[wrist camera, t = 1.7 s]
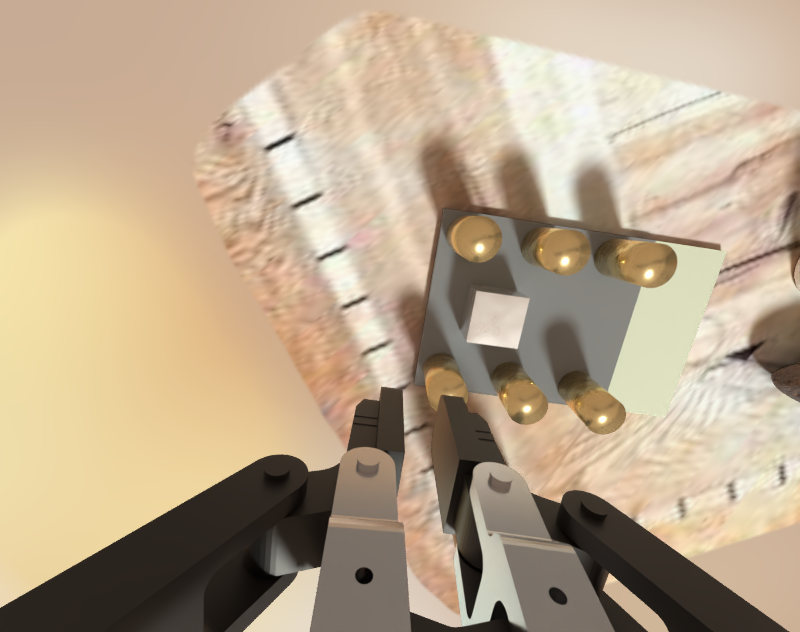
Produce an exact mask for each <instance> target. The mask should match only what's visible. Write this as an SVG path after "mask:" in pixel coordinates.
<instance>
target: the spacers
mask: <svg viewBox="0 0 800 632" xmlns="http://www.w3.org/2000/svg"><path fill="white" fill-rule="evenodd" d="M446 238H447V243H448V245H449V247H450V248H451V249H452V250H453V251H454V252H456V253H457V254H459V255H460V256H462V257H463V258H465V259H467V260H469V261H471V262H475V263H481V262H485V261H488V260H490V259H491V258H493V257H494V256H495V255H496V254H497V252H498V251H499V249H500V247H501V244H502V232H501V229H500V227H499V226H498V224H497V223H496V222H495V221H494V220H492V219H491V218H488V217H485V216H461V217H459V218H457V219H455V220H454V221H453V222H452V223H451V224H450V226H449V227H448V230H447V235H446ZM521 253H522V256H523V258H524V259H525V260H526V261H527V262H528V263H529V264H532V265H534V266H537V267H540V268H542V269H545V270H548V271H551V272H553V273H556V274H559V275H564V276H566V275H572V274H575V273H577V272H579V271H580V270H581V269H582V268H584V266H585V265H586V264H587V262H588V260H589V258H590V254H591V246H590V243H589V240H588V239H587V237H586V236H585V235H584V234H583V233H581V232H579V231H576V230H568V229H556V228H544V227H539V228H535V229H533V230H531V231H530V232H528V233H527V234H526V236H525V237H524V239H523V241H522V244H521ZM594 265H595V267H596V269H597V271H598V272H599V273H601V274H602V275H605V276H608V277H611V278H615V279H618V280H622V281H625V282H628V283H632V284H635V285H639V286H642V287H646V288H656V287H659V286H662V285H664V284H665V283H667V282H668V281H669V280H670V279H671V278H672V276H673V275H674V273H675V271H676V268H677V255H676V253H675V251H674V250H673V249H672V248H671V247H670V246H668V245H666V244H662V243H652V242H643V241H634V240H625V239H610V240H607V241H605V242H604V243H603V244H601V245H600V246H599V248H598V249H597V251H596V253H595V256H594ZM423 373H424V379H425V385H426V391H427V397H428V402H429V404H430V406H431V407H432V409H433V410H435V411H436V412H437V409H438V404H439V399H440V396H441V395H449V396H457V397H463V398H464V401H465V403H466V404H467V402H468V397H469V394H468V389H467V387H466V384H465V382H464V380H463V377H462V375H461V372H460V370H459V367H458V365H457V362H456V361H455V359H454V358H453V357H452V356H450V355H449V354H446V353H436V354H433V355H431V356H430V357H429V358H428V359H427V360H426V361H425V363H424V366H423ZM491 383H492V386H493V387H494V389H495V391H496V393H497V394H498V396H499V398H500V400H501V402H502V403H503V405H504V407H505V409H506V410H507V412H508V414H509V416H510V417H511V419H512V420H514V421H515V422H517V423H519V424H523V425H529V424H533V423H536V422H538V421H539V420H540V419H542V418H543V417H544V415H545V414H546V412H547V409H548V401H547V398H546V396H545V395H544V394H543V392H542V391H541V390H540V389H539V387H538V386H537V385H536V384H535V383H534V381H533V380H532V379H531V378H530V377H529V375H528V374H527V373H526V372H525V370H524V369H523V368H522V367H521V366H520V365H519V364H517V363H513V362H506V363H502V364H500V365H499V366H497V367H496V368H495V369H494V371H493V373H492V375H491ZM558 393H559V395H560V397H561V398H562V399H563V400H564V401H565V402H566V404H567V405H568V406H569V407H570V408H571V409H572V410H573V411H574V412H575V414H576V415H577V416H578V417H579V418H580V419H581V420H582V421H583V422H584V424H585V425H586V426H587V427H588V428H589V429H590V430H591V431H592V432H594V433H597V434H609V433H612V432H614V431H616V430H617V429H619V428H620V427H621V425H622V424H623V423H624V421H625V417H626V410H625V407H624V406H623V404H622V403H621V402H619V401H618V400H617V399H616V398H615V397H613V396H612V395H611V394H610V393H609V392H607V391H606V390H605V389H604V388H603V387H601V386H600V385H599V384H598V383H597V382H595V381H594V380H593V379H592V378H591V377H589V376H588V375H587V374H586V373H584V372H580V371H573V372H570V373H568V374H566V375H565V376H564V377H562V379H561V380H560V382H559V384H558Z"/></svg>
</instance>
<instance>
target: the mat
mask: <svg viewBox="0 0 800 632" xmlns="http://www.w3.org/2000/svg"><path fill="white" fill-rule="evenodd" d="M461 216H485V217H488V218H491V219H492V220H494V221H495V222H496V223H497V224H498V226H499V227H500V229H501V232H502V244H501V247H500V249H499V251H498V252H497V254H496V255H495V256H494V257H493V258H491V259H490V260H488V261H485V262H481V263H475V262H471V261H469V260H467V259H465V258H463V257H462V256H460V255H459V254H457V253H456V252H454V251H453V250H452V249H451V248H450V247H449V245H448V243H447V238H446V235H447V230H448V227H449V226H450V224H451V223H452V222H453V221H454V220H455V219H457V218H459V217H461ZM539 227H544V228H556V229H568V230H576V231H579V232H581V233H583V234H584V235H585V236H586V237H587V239H588V240H589V243H590V246H591V254H590V258H589V260H588V262H587V264H586V265H585V266H584V268H582V269H581V270H580V271H579V272H577V273H575V274H572V275H566V276H564V275H559V274H556V273H553V272H551V271H548V270H545V269H542V268H540V267H537V266H534V265H532V264H529V263H528V262H527V261H526V260H525V259H524V258H523V256H522V253H521V244H522V241H523V239H524V237H525V236H526V234H527V233H528V232H530V231H531V230H533V229H535V228H539ZM610 239H625V240H634V241H643V242H652V243H662V244H666V245H668V246H670V247H671V248H672V249H673V250H674V251H675V253H676V255H677V268H676V271H675V273H674V275H673V276H672V278H671V279H670V280H669V281H668V282H667V283H665V284H664V285H662V286H659V287H656V288H646V287H642V286H639V285H635V284H632V283H628V282H625V281H622V280H618V279H615V278H611V277H608V276H605V275H602V274H601V273H599V272H598V271H597V269H596V267H595V265H594V256H595V253H596V251H597V249H598V248H599V246H600V245H601V244H603V243H604V242H605V241H607V240H610ZM726 253H727V251H720V250H714V249H707V248H701V247H694V246H688V245H681V244H675V243H668V242H662V241H655V240H649V239H642V238H636V237H629V236H623V235H616V234H610V233H603V232H597V231H590V230H584V229H577V228H571V227H564V226H558V225H551V224H545V223H538V222H532V221H525V220H519V219H512V218H506V217H499V216H493V215H486V214H480V213H473V212H467V211H460V210H454V209H447V208H443V214H442V220H441V226H440V232H439V238H438V244H437V250H436V255H435V261H434V267H433V273H432V279H431V285H430V291H429V297H428V303H427V308H426V314H425V320H424V326H423V332H422V338H421V344H420V350H419V355H418V361H417V367H416V373H415V379H414V385H418V386H425V387H426V385H425V379H424V373H423V366H424V363H425V361H426V360H427V359H428V358H429V357H430V356H431V355H433V354H436V353H446V354H449V355H450V356H452V357H453V358H454V359H455V361H456V362H457V365H458V367H459V370H460V372H461V375H462V377H463V380H464V382H465V384H466V387H467V389H468V392H472V393H479V394H487V395H495V396H498V394H497V393H496V391H495V389H494V387H493V386H492V383H491V375H492V373H493V371H494V369H495V368H496V367H497V366H499V365H500V364H502V363H506V362H513V363H517V364H519V365H520V366H521V367H522V368H523V369H524V370H525V372H526V373H527V374H528V375H529V377H530V378H531V379H532V380H533V381H534V383H535V384H536V385H537V386H538V387H539V389H540V390H541V391H542V392H543V394H544V395H545V396H546V398H547V401H548V403H556V404H564V405H567V404H566V402H565V401H564V400H563V399H562V398H561V397H560V395H559V393H558V384H559V382H560V380H561V379H562V377H564V376H565V375H566V374H568V373H570V372H573V371H580V372H584V373H586V374H587V375H588V376H589V377H591V378H592V379H593V380H594V381H595V382H597V383H598V384H599V385H600V386H601V387H603V388H604V389H605V390H606V391H607V392H609V393H610V394H611V395H612V396H613V397H615V398H616V399H617V400H618V401H619V402H621V403H622V404H623V406H624V407H625V410H626V412H629V413H637V414H644V415H652V416H660V417H665V416H666V414H667V411H668V408H669V406H670V403H671V400H672V398H673V395H674V392H675V390H676V387H677V384H678V381H679V379H680V376H681V373H682V371H683V368H684V365H685V363H686V360H687V357H688V355H689V352H690V349H691V347H692V344H693V341H694V338H695V336H696V333H697V330H698V328H699V325H700V322H701V320H702V317H703V314H704V312H705V309H706V306H707V304H708V301H709V298H710V295H711V293H712V290H713V287H714V285H715V282H716V279H717V277H718V274H719V271H720V269H721V266H722V263H723V261H724V258H725V255H726ZM469 284H476V285H483V286H489V287H496V288H503V289H510V290H517V291H519V292H520V293H522V294H523V295H525V296H527V297H528V298H530V300H529V304H528V308H527V312H526V316H525V320H524V324H523V328H522V332H521V337H520V341H519V345H518V349H514V348H507V347H499V346H492V345H485V344H477V343H470V342H466V341H465V339H464V337H463V335H462V333H461V332H460V326H461V321H462V316H463V311H464V306H465V301H466V296H467V291H468V286H469Z"/></svg>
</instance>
